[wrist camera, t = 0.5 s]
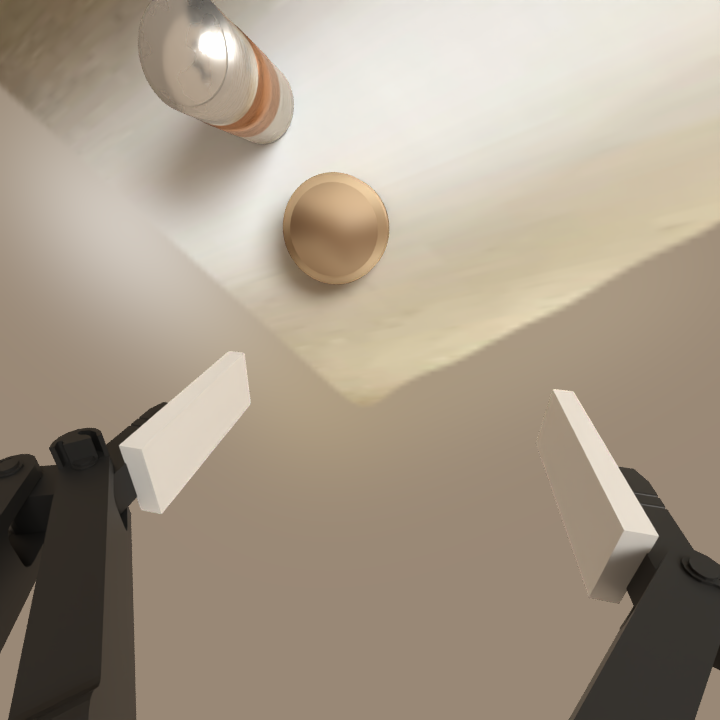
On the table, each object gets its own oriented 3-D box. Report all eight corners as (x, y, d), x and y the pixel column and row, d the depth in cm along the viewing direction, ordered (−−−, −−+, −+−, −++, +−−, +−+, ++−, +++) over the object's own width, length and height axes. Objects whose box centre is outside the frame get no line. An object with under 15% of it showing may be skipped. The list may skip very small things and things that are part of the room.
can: (218, 68, 35) (119, -2, 23) (286, 52, 33) (217, -30, 22) (235, 149, 37) (153, 121, 26) (300, 138, 36) (243, 103, 24)
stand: (284, 183, 37) (272, 181, 34) (383, 167, 35) (380, 163, 32) (302, 283, 41) (292, 289, 38) (393, 274, 39) (391, 279, 36)
